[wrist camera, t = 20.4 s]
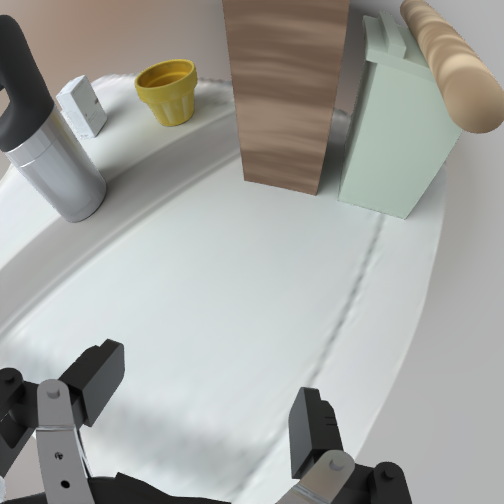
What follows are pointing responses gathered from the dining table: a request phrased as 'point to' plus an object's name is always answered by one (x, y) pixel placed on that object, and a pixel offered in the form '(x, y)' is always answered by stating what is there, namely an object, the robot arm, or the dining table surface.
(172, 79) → the plant pot
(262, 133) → the walnut tub
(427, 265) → the dining table surface
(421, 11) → the tan roll
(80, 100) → the skincare box
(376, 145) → the pale green lidded tub
